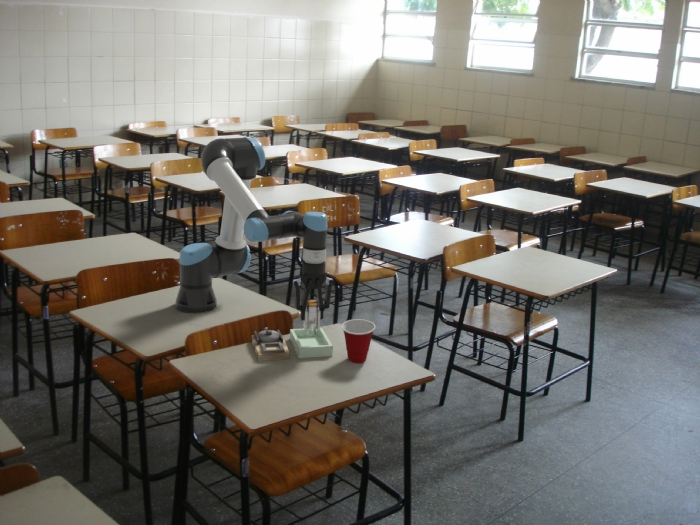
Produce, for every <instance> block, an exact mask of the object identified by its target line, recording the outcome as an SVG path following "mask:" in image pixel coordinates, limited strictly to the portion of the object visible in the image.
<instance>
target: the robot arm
mask: <svg viewBox="0 0 700 525" xmlns="http://www.w3.org/2000/svg"><path fill="white" fill-rule="evenodd" d="M200 157H201V158H200V163H201V168H202V170H203V172H204V174H205V176H206V177H207V178H208V179H209V180H210V181H213V182H215V184H216V185H217V187H218V188H219V189H220V191H221V192H222V193H223V195H224V201H223V209H222V216H221V217H222V218H221V226H220V232H219V234H220V235H218V236H217V237H215V241H214V245H211V244H210V243H206V242H195V243H190V244H188V245H185V246H183V247H182V248H181V250H180V251H179V260H178V262H179V290H178V292H177V296H176V298H175V308H176V309H177V310H179V311H180V312H184V313H189V314H190V313H191V314H192V313H193V314H199V313H200V314H201V313H205V312H206V313H207V312H210V311H213V310H215V309H216V308H217V305H218V304H217V303H218V302H217V297H216V294H215V290H214V288H213V278H217V277H223V276H229V275H237V274H240V273H243V272H245V271H246V270H248V268H249V266H250V264H251V259H252V254H251V253H250V252H251V250H250V247H249V245H248V244H247V241H249V242H251V243H260V242H261V243H263V242H266V241H271V240H272V241H273V240H279V239H280V240H281V239H287V238H293V237H296V238H299V239H301V240H302V265H301V275H300V276H299V278H297V279H295V278H294V279H292V284H293V286H294V307H295V309H296V310H297V311H300V320H301V321H302V322H303V323H302V324H303V327H302V329H304V330H305V331H307V320H308V311H307V302H308V300H309V297H310V293H311V290H313V289H314V290H315V292H316V297H317V301H318V315H317V330H320V328H321V320H323V319H324V312H325V310H326V309H329V308H330V305H331V304H330V303H331V297H332V296H331V294H332V287H333V285H334V282H335V280H334V279H333V278H332V277H327V275H326V265H327V263H326V259H327V258H326V257H327V239H328V237H327V236H328V226H329V225H328V216H327V214H326V213H325V212H321V211H319V212H318V211H307V212H305V213H304V214H302V213H299V212H297V211H293V210H287V211H284V212H282V213H281V214H278V215H277V214H276V215H269V214H268V213H267V211H266V210H265V209H264V207H263V206H262V205H261V204H260V202H259V201H258V199H257V198H256V196H254V195H253V193H252V192H251V191H250V190H251V184H252V181H254V180H255V179H256V177H257V173H258V172H257V171H261V170H262V169H263V168H265V164H266V152H265V150H264V146H263V145H262V144H261V142H260V141H259V140H258V139H256V138H255V137H245V136H243V137H232V138H231V137H229V138H228V137H227V138H225V137H224V138H222V137H219V138H217V139H216V138H215V139H213V140H211V141H210V142H208V143H207V144H206V145H205V146H204V148H203V150H202V152H201V156H200ZM244 236H245V238H246V239H244ZM246 240H247V241H246ZM301 283H303V285H304V287H303V289H304V290H303V295H302V298H301V292H300V291H301V290H300V286H301ZM324 283H325V293H324V301H323V294H322V285H323V284H324Z"/></svg>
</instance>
